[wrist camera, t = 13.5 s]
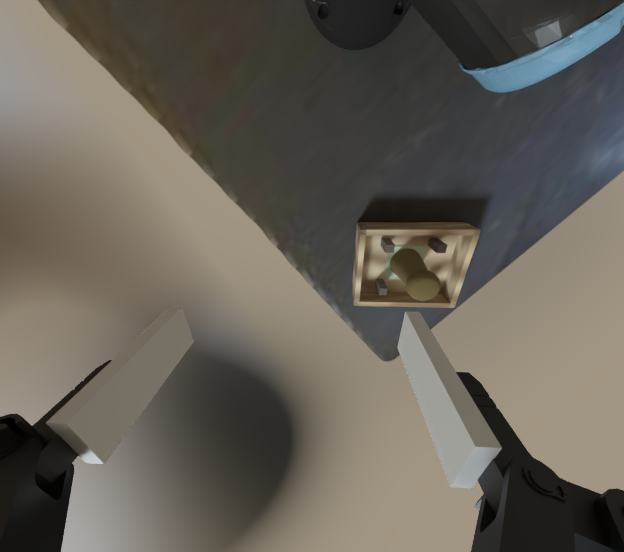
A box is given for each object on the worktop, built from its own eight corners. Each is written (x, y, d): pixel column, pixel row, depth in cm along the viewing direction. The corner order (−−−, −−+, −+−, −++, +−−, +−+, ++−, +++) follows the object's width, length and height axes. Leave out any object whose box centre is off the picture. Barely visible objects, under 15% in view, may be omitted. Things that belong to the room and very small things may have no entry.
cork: (387, 253, 44) (404, 279, 34) (418, 244, 43) (445, 269, 33) (392, 278, 46) (409, 310, 37) (422, 271, 45) (448, 301, 36)
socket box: (357, 222, 43) (360, 229, 38) (464, 222, 41) (481, 229, 37) (351, 292, 50) (353, 305, 46) (442, 294, 49) (454, 307, 44)
